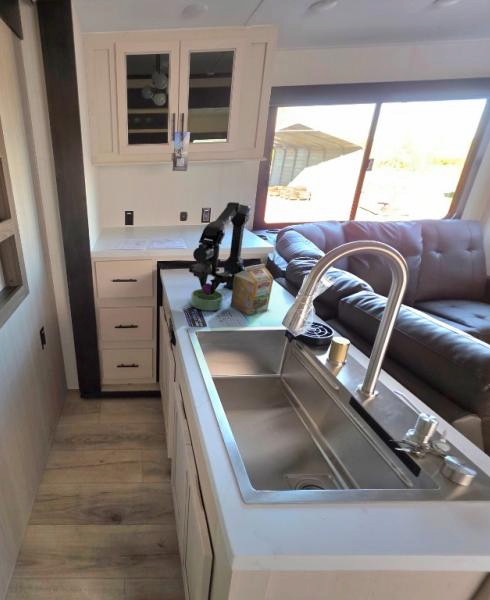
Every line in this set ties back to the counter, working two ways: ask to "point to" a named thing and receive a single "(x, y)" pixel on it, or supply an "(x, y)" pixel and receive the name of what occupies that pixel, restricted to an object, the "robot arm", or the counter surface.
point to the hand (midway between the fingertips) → (207, 291)
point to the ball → (206, 288)
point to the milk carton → (252, 290)
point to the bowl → (206, 300)
